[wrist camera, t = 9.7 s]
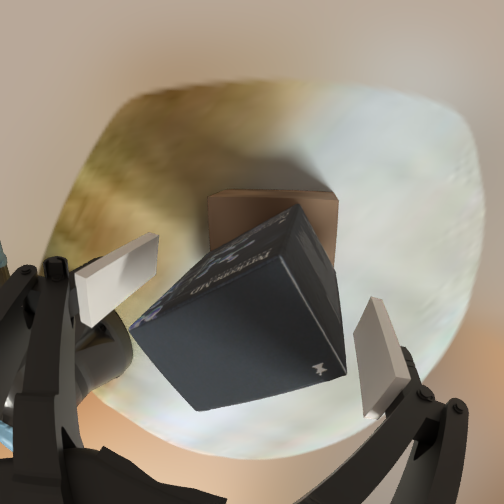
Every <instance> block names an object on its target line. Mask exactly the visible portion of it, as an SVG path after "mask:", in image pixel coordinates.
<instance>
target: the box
mask: <svg viewBox="0 0 504 504" xmlns="http://www.w3.org/2000/svg"><path fill="white" fill-rule="evenodd" d="M128 330H129V332H130V334H131V335H132V337H133V338H134V339H135V341H136V342H137V343H138V345H139V346H140V347H141V349H142V350H143V351H144V352H145V354H146V355H147V356H148V357H149V359H150V360H151V361H152V362H153V363H154V365H155V366H156V367H157V368H158V370H159V371H160V372H161V373H162V374H163V375H164V377H165V378H166V379H167V380H168V381H169V382H170V384H171V385H172V386H173V387H174V388H175V389H176V390H177V391H178V392H179V393H180V395H181V396H182V397H183V398H184V399H185V400H186V401H187V402H188V403H189V404H190V405H191V406H192V407H193V409H194V410H195V411H199V412H203V411H207V410H211V409H216V408H220V407H225V406H231V405H236V404H241V403H245V402H250V401H254V400H259V399H263V398H267V397H272V396H276V395H279V394H284V393H287V392H291V391H294V390H298V389H302V388H305V387H310V386H313V385H316V384H319V383H322V382H326V381H330V380H333V379H336V378H338V377H341V376H345V375H346V374H347V367H346V354H345V344H344V334H343V325H342V315H341V307H340V299H339V291H338V284H337V278H336V272H335V269H334V267H333V265H332V264H331V262H330V260H329V258H328V256H327V254H326V251H325V250H324V248H323V246H322V244H321V242H320V241H319V239H318V237H317V235H316V233H315V231H314V229H313V227H312V225H311V224H310V222H309V220H308V218H307V216H306V215H305V213H304V211H303V209H302V207H301V205H300V204H295V205H294V206H292V207H290V208H288V209H286V210H285V211H283V212H281V213H279V214H277V215H276V216H274V217H272V218H270V219H269V220H267V221H265V222H263V223H261V224H259V225H258V226H256V227H254V228H252V229H251V230H249V231H247V232H245V233H243V234H241V235H240V236H238V237H236V238H235V239H233V240H231V241H229V242H228V243H226V244H223V245H222V246H220V247H218V248H216V249H214V250H213V251H211V252H209V253H208V254H207V255H206V256H204V257H203V258H202V259H201V260H200V261H199V262H198V263H197V264H196V265H195V266H193V267H192V268H191V269H190V270H189V271H188V272H187V273H186V274H185V275H184V276H183V277H182V278H181V279H180V280H179V281H178V282H177V283H175V284H174V285H173V286H172V287H171V288H170V289H169V290H168V291H167V292H166V293H165V294H164V295H163V296H162V297H161V298H160V299H159V300H158V301H157V302H156V303H155V304H153V305H152V306H151V307H150V308H149V309H148V310H147V311H146V312H145V313H144V314H143V315H142V316H141V317H140V318H139V319H137V320H136V321H135V322H134V323H133V324H132V325H131V326H130V327H129V329H128Z"/></svg>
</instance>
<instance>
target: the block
mask: <svg viewBox="0 0 504 504" xmlns="http://www.w3.org/2000/svg"><path fill="white" fill-rule="evenodd" d="M207 202H208V222H209V239H210V252H211V251H213V250H214V249H216V248H218V247H220V246H222V245H223V244H226V243H228V242H229V241H231V240H233V239H235V238H236V237H238V236H240V235H241V234H243V233H245V232H247V231H249V230H251V229H252V228H254V227H256V226H258V225H259V224H261V223H263V222H265V221H267V220H269V219H270V218H272V217H274V216H276V215H277V214H279V213H281V212H283V211H285V210H286V209H288V208H290V207H292V206H294V205H295V204H300V205H301V207H302V209H303V211H304V213H305V215H306V216H307V218H308V220H309V222H310V224H311V225H312V227H313V229H314V231H315V233H316V235H317V237H318V239H319V241H320V242H321V244H322V246H323V248H324V250H325V251H326V254H327V256H328V258H329V260H330V262H331V264H332V265H333V267H334V260H335V249H336V236H337V222H338V205H339V200H338V199H337V197H336V195H335V194H334V192H321V191H299V190H264V189H226V190H223V191H221V192H218V193H216V194H213V195H211V196H208V197H207Z"/></svg>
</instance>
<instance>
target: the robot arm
mask: <svg viewBox="0 0 504 504" xmlns="http://www.w3.org/2000/svg"><path fill="white" fill-rule="evenodd" d="M158 242H159V235H157V234H153V233H150V232H148V233H146V234H144V235H142V236H140V237H139V238H137V239H135V240H133V241H131V242H129V243H127V244H125V245H124V246H122V247H120V248H118V249H116V250H114V251H112V252H111V253H109V254H107V255H105V256H102V257H98V258H94V259H92V260H90V261H89V262H88V263H85V264H83V266H80V267H78V268H76V269H75V270H73V271H71V272H68V261H67V259H66V258H64V257H60V256H55V257H50V258H47V259H46V260H45V261H44V262H43V267H44V274H45V277H42V276H38V274H37V268H36V267H35V266H33V265H23V266H21V267H19V268H18V269H17V270H16V271H15V272H14V273H13V274H12V275H11V276H10V274H9V271H8V267H7V257H6V255H5V254H4V253H3V249H2V245H1V242H0V442H1V443H2V444H3V445H5V446H6V447H7V448H8V449H10V450H11V451H12V452H13V458H3V459H0V504H226V501H227V498H223V497H219V496H216V495H212V494H209V493H206V492H203V491H200V490H197V489H194V488H187V487H180V486H174V485H169V484H164V483H160V482H157V481H156V480H154V479H153V478H151V477H150V476H149V475H147V474H146V473H145V472H143V471H142V470H141V469H140V468H138V467H137V466H136V465H135V464H134V463H132V462H131V461H130V460H128V459H126V458H124V457H122V456H120V455H118V454H116V453H115V452H113V451H111V450H110V449H108V448H106V447H104V446H103V447H102V449H101V450H100V451H98V450H94V449H88V448H84V446H83V443H82V440H81V437H80V433H79V425H78V416H77V406H78V405H79V404H80V403H81V401H82V400H83V399H84V398H85V397H86V396H87V394H88V393H89V392H90V391H92V390H94V389H96V388H98V387H100V386H102V385H104V384H106V383H107V382H109V381H111V380H113V379H115V378H118V377H119V376H120V375H122V374H123V373H124V371H125V370H126V369H127V368H128V367H129V365H130V364H131V362H132V358H133V349H132V344H131V341H130V338H129V335H128V333H127V331H126V329H125V327H124V325H123V323H122V322H121V320H120V318H119V317H118V315H117V314H116V313H115V311H114V310H113V309H115V308H116V307H117V306H118V305H119V304H120V303H122V302H123V301H124V300H125V299H126V298H128V297H129V296H130V295H131V294H133V293H134V292H135V291H136V290H137V289H139V288H140V287H141V286H142V285H144V284H145V283H146V282H147V281H148V280H150V279H151V278H152V277H153V276H155V275H156V267H157V253H158ZM353 336H354V342H355V349H356V355H357V362H358V370H359V378H360V386H361V395H362V404H363V415H364V418H368V419H377V420H378V419H379V418H380V417H381V416H382V415H383V414H384V412H385V414H386V419H385V420H384V422H383V423H382V424H381V425H380V426H379V427H378V428H377V429H376V430H375V431H374V433H373V434H372V435H371V436H370V437H369V438H368V439H367V440H366V441H365V442H364V443H363V445H362V446H360V447H359V448H358V449H357V450H356V451H355V452H354V453H353V454H352V455H351V456H350V457H349V458H348V459H347V460H346V461H345V462H344V463H343V464H342V465H341V466H339V467H338V468H337V469H336V470H335V471H334V472H333V473H332V474H331V475H329V476H328V477H327V478H326V479H325V480H323V481H322V482H321V483H320V484H318V485H317V486H316V487H315V488H313V489H312V490H311V491H310V492H308V493H307V494H306V495H304V496H303V497H302V498H300V499H299V500H298V501H296V502H295V503H293V504H361V503H362V502H363V501H364V500H365V499H366V498H367V497H368V496H369V495H370V494H371V492H372V491H373V490H374V489H375V488H376V487H377V486H378V484H379V483H380V482H381V481H382V480H383V478H384V477H385V476H386V475H387V473H388V472H389V471H390V470H391V468H392V467H393V466H394V464H395V463H396V461H398V459H399V458H400V456H401V455H402V454H403V452H404V451H405V449H406V448H407V447H408V445H409V443H410V442H411V441H412V439H413V440H414V443H413V447H412V450H411V453H410V456H409V459H408V462H407V464H406V467H405V470H404V472H403V475H402V478H401V480H400V483H399V485H398V487H397V490H396V492H395V494H394V497H393V499H392V501H391V503H390V504H455V503H456V499H457V495H458V491H459V487H460V482H461V477H462V471H463V465H464V459H465V451H466V442H467V432H468V416H469V412H468V408H467V406H466V404H465V403H464V402H463V401H462V400H460V399H458V398H452V399H450V400H449V401H448V402H447V403H446V404H443V403H441V402H438V401H435V397H434V394H433V392H432V391H431V390H430V389H429V388H428V387H426V386H424V385H422V384H421V381H420V378H419V375H418V372H417V369H416V368H415V364H414V362H413V358H412V356H411V354H410V352H409V351H408V350H407V349H406V347H402V346H400V345H399V342H398V339H397V336H396V334H395V331H394V328H393V326H392V323H391V320H390V318H389V315H388V313H387V310H386V308H385V305H384V303H383V301H382V299H378V298H375V297H370V300H369V302H368V304H367V306H366V308H365V310H364V313H363V315H362V317H361V319H360V321H359V323H358V325H357V327H356V329H355V331H354V333H353Z"/></svg>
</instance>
